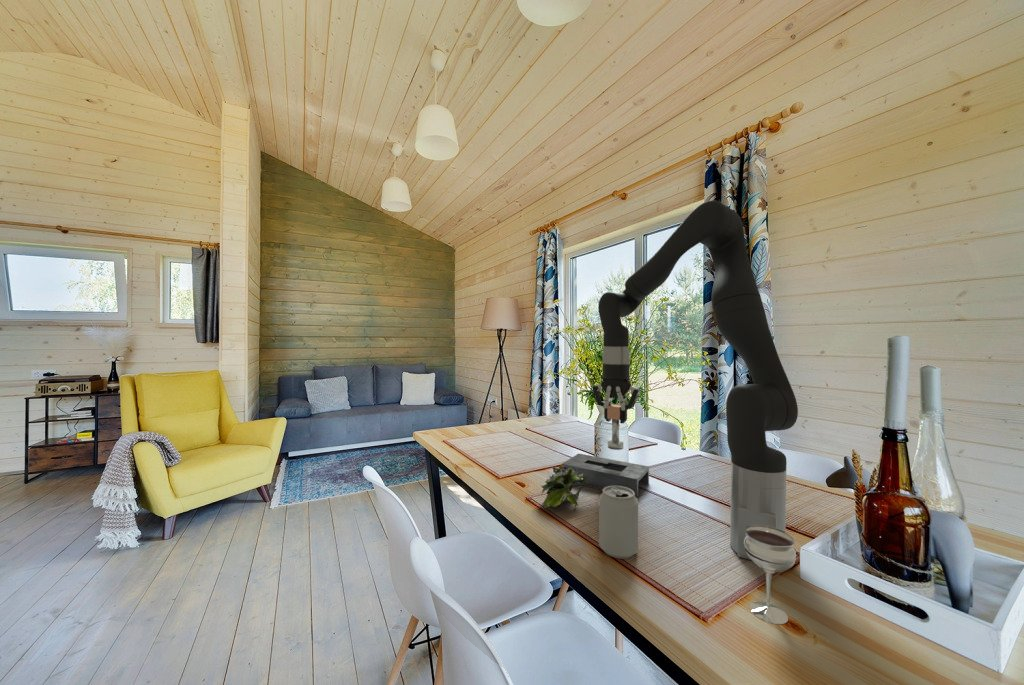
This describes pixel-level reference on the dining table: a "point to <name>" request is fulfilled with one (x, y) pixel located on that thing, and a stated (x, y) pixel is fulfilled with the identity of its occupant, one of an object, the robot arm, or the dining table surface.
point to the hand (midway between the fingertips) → (615, 421)
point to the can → (618, 522)
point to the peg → (614, 426)
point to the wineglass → (769, 564)
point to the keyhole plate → (608, 472)
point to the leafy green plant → (562, 486)
